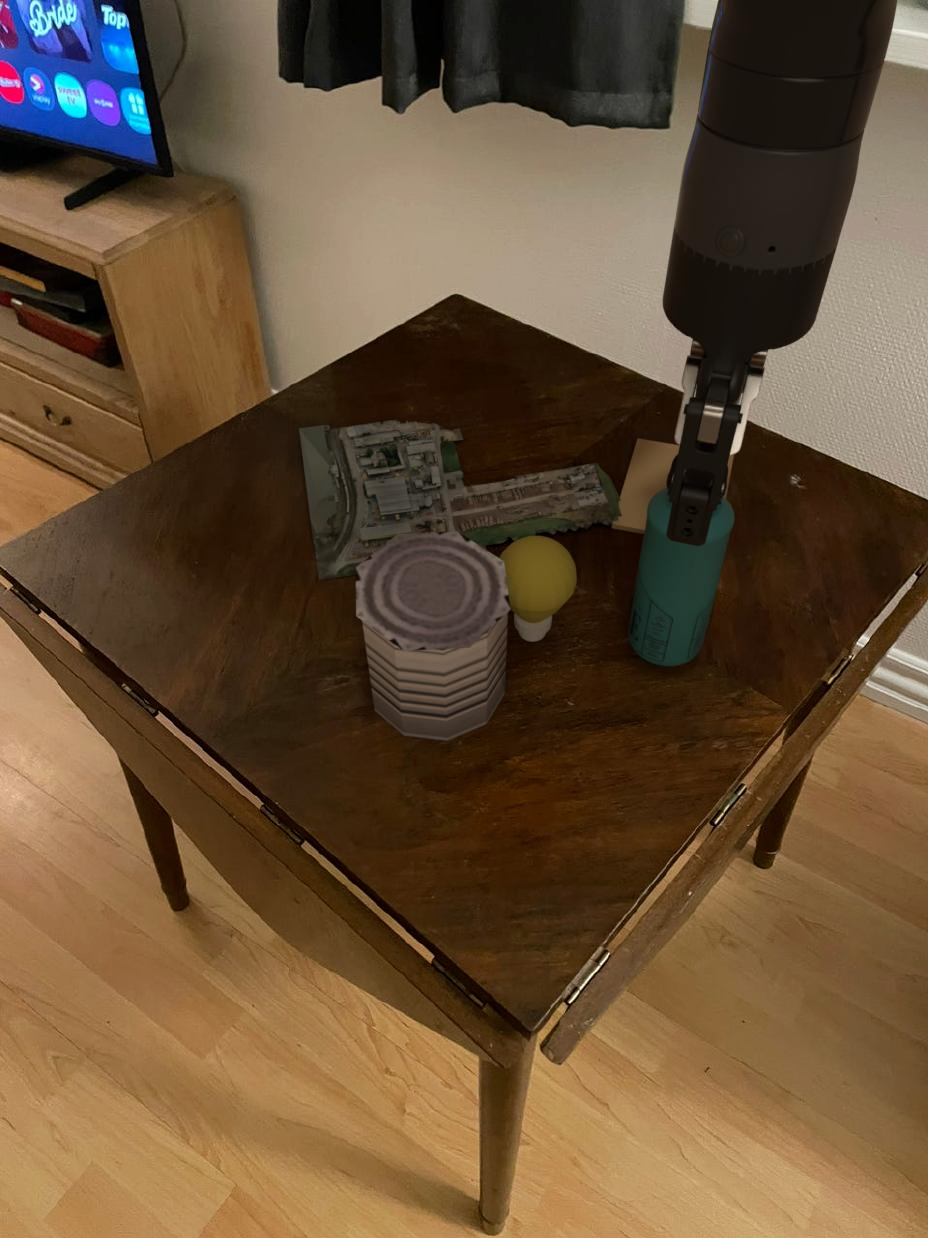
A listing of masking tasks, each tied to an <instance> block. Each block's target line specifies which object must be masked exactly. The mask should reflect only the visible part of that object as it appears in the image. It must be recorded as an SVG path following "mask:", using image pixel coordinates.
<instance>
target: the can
mask: <svg viewBox="0 0 928 1238" xmlns="http://www.w3.org/2000/svg"><path fill="white" fill-rule="evenodd" d="M499 558H500V557H498V556H496V555H495V554H493V553H491V552H490V551H488V549H486V550H485V549H484V548H482V547H481V546H479V545H478V544H476V543H475V542H473V541H472V540H470V539H468V538H467V537H465V536H464V535H462V534H461V533H459V532H434V533H408V534H397V535H396V536H395V537H393V538H392V539H391V540H390V541H388V542H387V543H386V544H385V545H383V546H382V547H381V548H380V549H378V550H377V551H376V552H375V553H373V554H372V555H371V556H370V557H368V558H367V559H366V560H365V561H363V562H362V563H361V564H360V565H358V566H357V567H356V575H355V616H356V617H357V618H358V619H360V620H361V623H362V629H363V637H364V638H363V639H364V644H365V651H366V652H365V653H366V658H367V665H368V666H367V667H368V673H369V679H370V680H369V681H370V686H371V695H372V702H373V709H374V712H375V713H376V714H377V715H379V716H380V717H381V718H382V719H383V720H385V721H386V722H387V723H388V724H389V725H390V726H391V727H393V728H394V729H395V730H396V731H398V732H399V733H400V734H401V735H402V736H404V737H411V738H419V739H427V740H436V741H443V742H449V741H451V740H453V739H456V738H458V737H460V736H463V735H465V734H468V733H470V732H472V731H475V730H478V729H479V728H481V727H483V726H487V725H488V723H489V721H490V720H491V717H492V716H493V714H494V713H495V711H496V709H497V708H498V707H499V705H500V703H501V701H502V699H503V698H504V697H505V695H506V683H507V682H506V677H507V651H508V649H507V646H508V619H509V618H508V617H509V612H510V611H511V608H510V601H509V593H508V586H507V579H506V572H505V565H504V561H502V560H501V559H499Z"/></svg>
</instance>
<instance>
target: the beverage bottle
mask: <svg viewBox="0 0 928 1238" xmlns="http://www.w3.org/2000/svg"><path fill="white" fill-rule="evenodd" d="M677 457H678V454H677V455H676V456H675V458H674V459H673V462H672V465H671V468H670V471H669V473H668V476H667V482H666V486H667V488H664V489H662V490H661V491H659V492H658V493H656V494H655V495H654V496H653V497H652V499H651V500H650V502H649V504H648V508H647V520H646V526H645V532H644V534H643V538H642V541H641V542H640V544H642V545H641V547H640V548H639V549H638V550H639V551H640V555H639V561H638V560H636V561H637V564H636V566H637V574H636V578H635V581H634V588H633V589H632V590H633V591H632V597H631V599H630V604H629V605H630V606H629V609H628V610H629V611H628V616H627V619H629V622H628V624H627V627H626V632H627V634H626V636H627V638H628V642H629V643H630V646H631V647H632V649H633V651H634V652H635V653H636V654H637V655H638V656H639V657H640V658H642V659H643V660H644V661H647V662H649V663H651V664H654V665H657V666H663V667H676V666H681V665H684V664H687V663H688V662H691V661H692V660H693V659H694V658H695V657H696V656H698V654H699V653H700V652H701V650H703V648H704V647H705V645H706V644H705V643H706V642H705V641H706V640H705V639H707V638H708V637H707V635H708V633H709V632H708V631H709V629H710V627H711V621H712V617H713V615H714V610H715V607H714V606H715V603H716V601H715V600H717V597H718V593H717V591H719V590H720V588H719V587H720V577H721V578H722V573H723V570H722V569H723V564H724V559H725V555H726V552H727V547H728V544H729V539H730V535H731V531H732V529H733V527H734V524H735V512H734V508H733V506H732V505H731V503H730V502H729V500H727V498H726V499H725V498H724V497H722V501H721V505H719V504H718V505H717V509H716V511H713V514H712V518H711V522H710V526H709V530H708V534H707V539H706V542H705V543H704V544H703V545H701V546H694V545H689V544H684V543H679V542H674V541H671V540H670V539H668V537H667V535H666V533H667V528H668V523H669V518H670V513H671V508H672V503H671V502H669V497H670V495H667V494H668V489H669V485H671V486H672V483H671V482H672V477H673V474H674V472H675V467H676V462H677ZM687 470H692V471H697V472H703V473H708V474H712V473H710V472H705V471H700V470H695V469H687ZM687 470H686V471H687ZM727 477H728V465H727V469H726V473H725V477H724V481H723V483H725V486H724V490H723V493H720V495H723V496H724V494H725V492H726V488H727Z"/></svg>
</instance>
